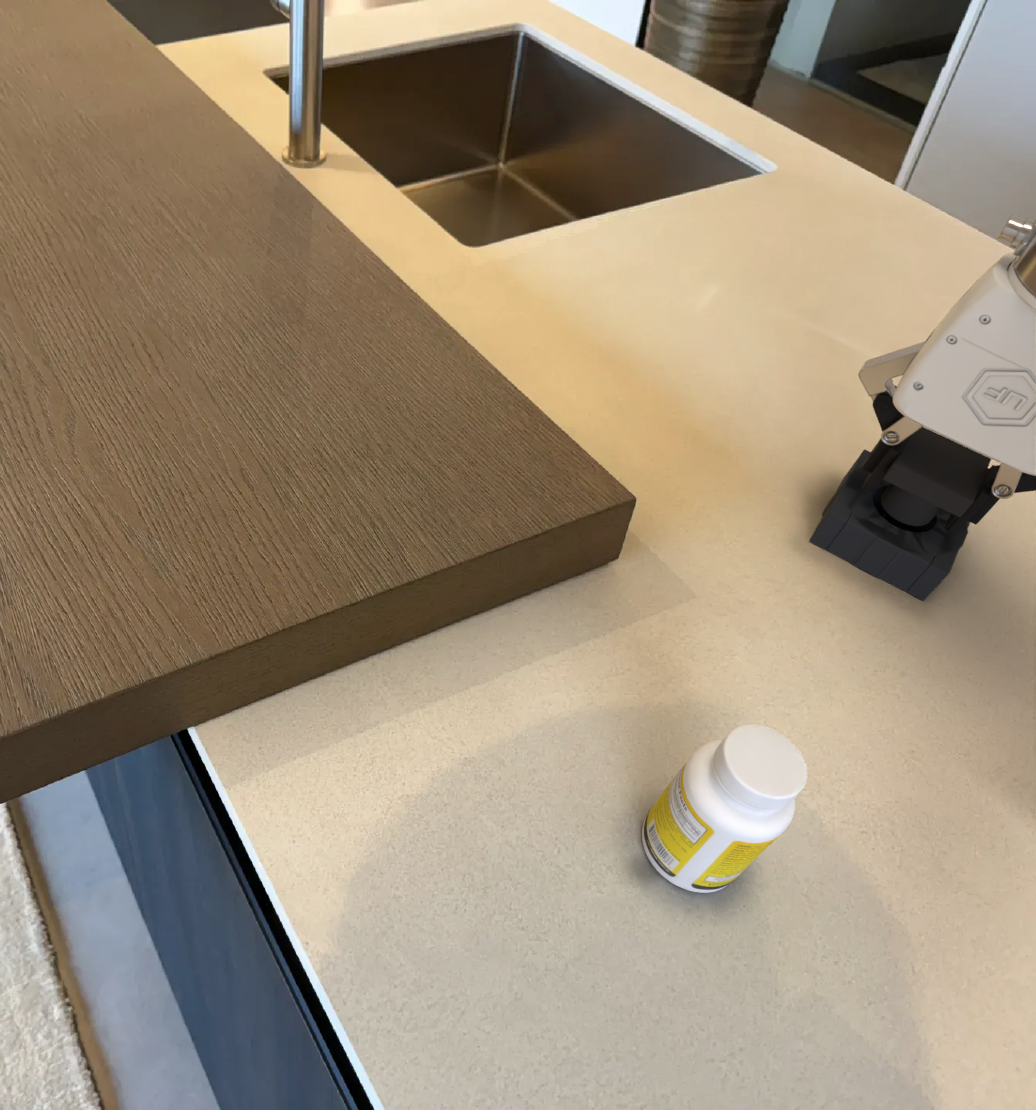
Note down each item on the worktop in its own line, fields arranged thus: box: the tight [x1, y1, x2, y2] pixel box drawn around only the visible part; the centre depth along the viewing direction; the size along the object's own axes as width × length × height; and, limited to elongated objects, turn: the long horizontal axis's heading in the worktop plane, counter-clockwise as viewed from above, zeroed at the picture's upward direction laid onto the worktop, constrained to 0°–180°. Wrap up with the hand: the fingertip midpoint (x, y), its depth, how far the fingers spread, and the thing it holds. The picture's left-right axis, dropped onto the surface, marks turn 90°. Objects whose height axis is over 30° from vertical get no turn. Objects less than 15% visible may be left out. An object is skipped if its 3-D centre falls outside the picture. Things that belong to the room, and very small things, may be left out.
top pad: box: [881, 427, 992, 526], centre depth 69 cm, size 5×5×4 cm
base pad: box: [809, 449, 971, 602], centre depth 72 cm, size 8×8×3 cm
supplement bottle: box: [641, 723, 808, 894], centre depth 53 cm, size 5×5×10 cm
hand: (913, 498), depth 70 cm, fingers closed on top pad, 4 cm apart
